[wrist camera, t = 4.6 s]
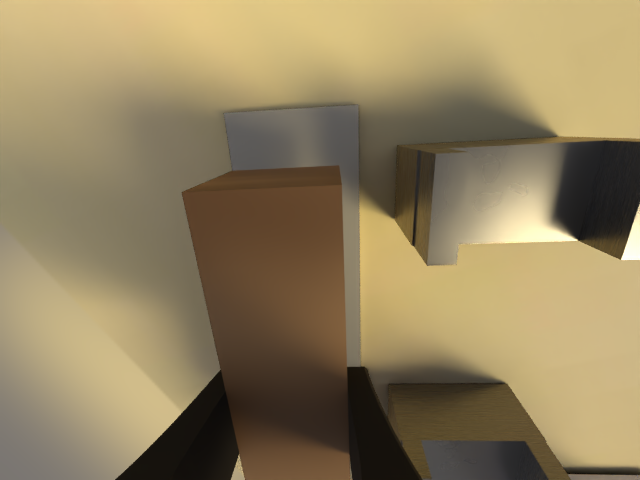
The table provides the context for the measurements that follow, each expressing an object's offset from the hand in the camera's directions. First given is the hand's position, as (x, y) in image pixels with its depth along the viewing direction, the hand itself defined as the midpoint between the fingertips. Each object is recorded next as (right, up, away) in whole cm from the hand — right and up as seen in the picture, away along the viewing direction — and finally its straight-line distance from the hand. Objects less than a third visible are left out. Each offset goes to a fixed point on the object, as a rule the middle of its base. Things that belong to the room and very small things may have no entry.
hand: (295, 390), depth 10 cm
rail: (0, +1, +2) cm, 2 cm away
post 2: (+8, -4, +6) cm, 10 cm away
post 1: (+7, +7, +2) cm, 10 cm away
